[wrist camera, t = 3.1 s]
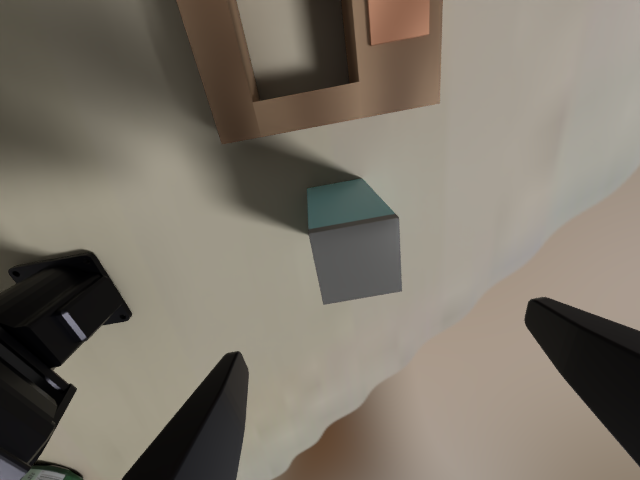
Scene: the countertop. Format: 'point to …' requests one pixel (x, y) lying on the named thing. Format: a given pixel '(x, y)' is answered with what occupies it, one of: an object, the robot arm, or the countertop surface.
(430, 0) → the socket plate
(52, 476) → the coffee jar
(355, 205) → the plug
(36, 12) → the countertop surface
